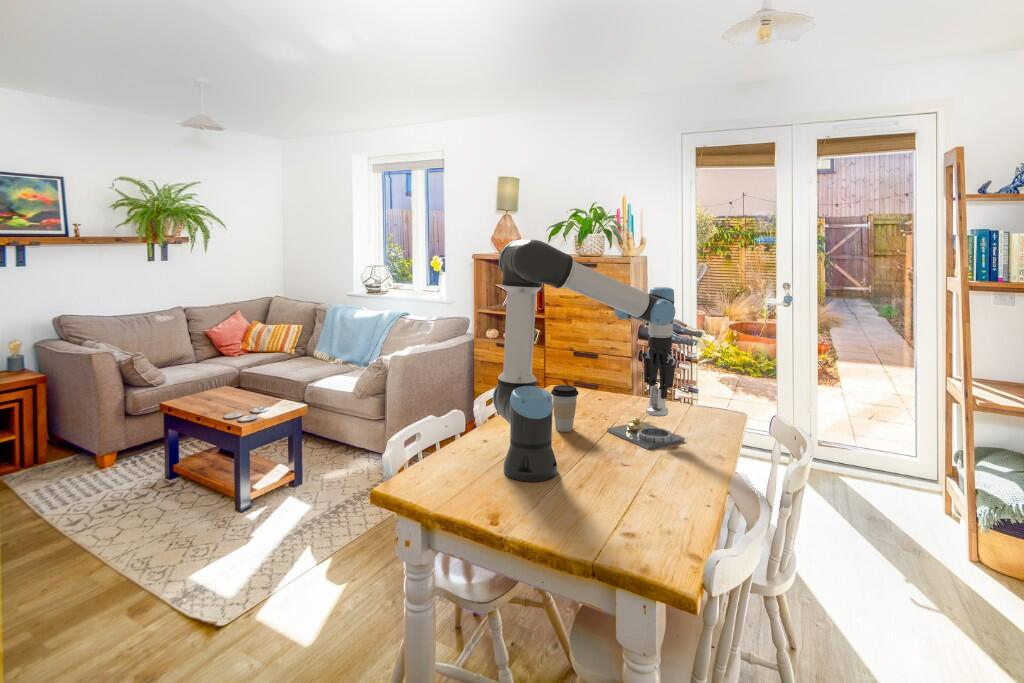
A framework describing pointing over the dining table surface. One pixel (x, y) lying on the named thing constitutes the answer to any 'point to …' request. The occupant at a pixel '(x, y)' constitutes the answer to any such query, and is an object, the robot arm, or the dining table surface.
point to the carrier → (645, 434)
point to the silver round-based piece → (653, 409)
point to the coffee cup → (564, 406)
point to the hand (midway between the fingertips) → (657, 406)
